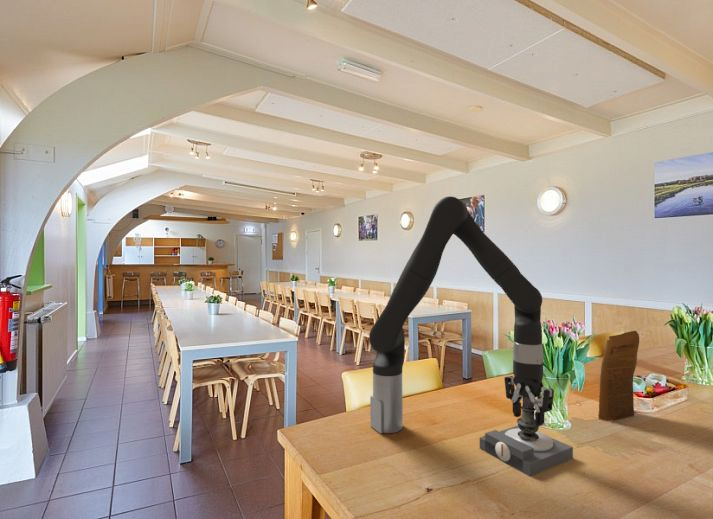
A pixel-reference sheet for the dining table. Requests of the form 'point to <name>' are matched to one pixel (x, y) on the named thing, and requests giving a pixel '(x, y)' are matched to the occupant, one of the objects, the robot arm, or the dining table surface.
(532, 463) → the kitchen scale
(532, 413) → the salt shaker
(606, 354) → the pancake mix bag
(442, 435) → the dining table surface
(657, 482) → the dining table surface
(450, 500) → the dining table surface
